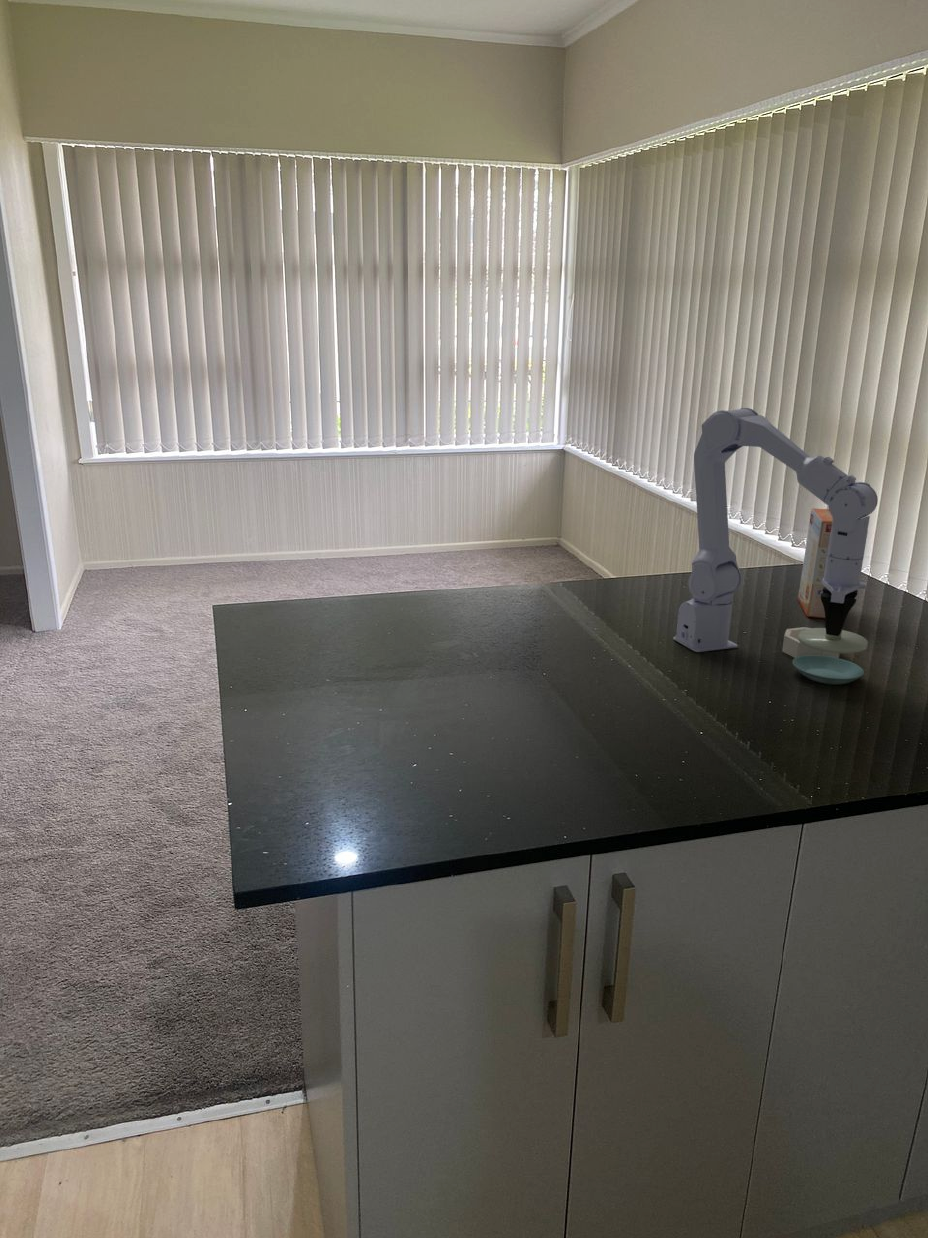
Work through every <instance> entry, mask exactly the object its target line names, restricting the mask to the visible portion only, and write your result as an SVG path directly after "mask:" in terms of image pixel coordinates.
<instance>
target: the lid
mask: <svg viewBox="0 0 928 1238" xmlns="http://www.w3.org/2000/svg"><path fill="white" fill-rule="evenodd" d="M809 628H810V629H805V630H803V631H801V632H800V633H799V637H798V640H799V641H800V642H801V643H802V644H804V645H805V646H808V647H810V648H813V649H816V650H821V651H825V652H832V653H840V654H856V653H857V654H858V653H861V652H864V651H866V649H868V643H869V642H868V639H866V638H865V637H864V636H862V635H860V634H859V633H855V632H852V631H849V630H844V629H842V631H841V633H840V635H839V636H834V635H827V634H826V627H813V628H812V627H809Z"/></svg>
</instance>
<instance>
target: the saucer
mask: <svg viewBox="0 0 928 1238" xmlns="http://www.w3.org/2000/svg"><path fill="white" fill-rule="evenodd" d="M792 664H793V666H794V668H795V669H796V670H797V671H798V672H799V673H800V674H801V675H803V676H804V677H806V678H807V679H809V680H811V681H813V682H816V683H819V684H820V683H821V684H823V683H824V685H831V686H835V685H836V686H837V685H840V686H841V685H845V684H849V683H852V682H854V681H856V680H858V679H859V678H861V677H863V676H864V674H865V671H864V669H863V667H861V666H859V665H858V664H856V663H854V662H852V661H849V660H846V659H842V658H840V657H839V658H835V657H829V656H822V655H805V656H799V657H797V658H793V659H792Z"/></svg>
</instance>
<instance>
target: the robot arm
mask: <svg viewBox="0 0 928 1238" xmlns="http://www.w3.org/2000/svg"><path fill="white" fill-rule="evenodd" d="M742 447H754V448H755V447H757V448H760V449H762V450H764V451H765V452H766V453H768V454H770V455H771V456H772V457H774V458H775V459H777V460H778V461H779V462H781V463H782V464H784V465H786V466H787V467H788V468H790V469H791V470H793V471H795V473H796V479H797V483H798V484H799V485H800V486H802V487H803V488H804V489H806V490H807V491H808V492H810V493H811V494H812V495H814V496H815V497H816V498H817V499H819V500H820V501H821V502H822V503H824V504H825V505H827V506H828V509H829V511H830V513H831V515H832V517H833V521H832V527H831V533H830V540H829V546H828V553H827V560H826V566H825V573H824V578H823V579H822V584H823V585H824V586H825V587H824V588H823V593H821V601H822V604H823V606H824V611H825V618H824V619H825V621H824V623H825V625H824V626H825V628H826V634H827V635H834V636H839V635H840V633H841V631H842V630H843V628H844V625H845V622H846V619H847V616H848V615H849V613H850V611H851V610H852V608H853V607H854V605H855V604H856V603H857V596H858V591H859V590H860V589H861V590H865V589H867V586H868V585H867V584H868V583H867V582H866V581H865V582H863V581H860V580H861V575H862V569H863V563H864V558H865V557H864V556H865V550H866V545H867V538H868V531H869V530H868V528H869V524H870V517H871V516H870V515H871V514H872V513H873V512H874V511H875V510H876V508H877V505H878V502H879V501H878V495H877V492H876V491H875V489H874V488H873V487H872V486H871V485H870V484H869V483H867V482H864V481H863V482H862V481H857V482H856V480H857V478H856V477H855V476H854V475H853V474H851V475H849V474H846V473H845V472H843V471H842V470H841V469H840V468H839V467H837V466H835V464H834V462H835V460H834V459H833V458H831V456H825V457H824V456H822V455H815V456H810V454H808V453H806V451H804V450H803V449H802V448H801V447H800V446H798V445H797V444H796V443H795V442H794V441H793V440H791V439H790V438H789V437H787V436H786V434H784V433H783V432H781V431H780V430H779V429H778V428H777V427H776V426H774V425H773V424H772V423H771V421H769V419H768V418H767V417H766V416H763V415H761V414H759V413H758V412H757V411H756V410H755V409H753V408H750V407H742V408H738V409H730V410H723V409H722V410H718V411H717V410H716V411H715V412H713V413H712V414H711V415H710V416H708V417H707V419H706V420H705V421H703V422H702V424H701V434H700V438H699V440H698V442H697V445H696V447H695V450H694V453H693V463H694V464H693V466H694V483H695V484H694V485H695V501H696V502H695V503H696V516H697V517H696V519H697V532H698V547H699V548H698V550H697V551H698V552H697V553H696V555H695V556H694V559H692V562H691V573H690V576H689V578H688V589H689V592H690V593H691V595H692V598H691V599H690V600H687V601H683V602H682V603H681V604H680V606H679V608H678V612H677V619H676V621H677V622H676V623H677V624H676V629H675V630H676V633H675V636H673V638H672V639H673V640H674V641H676V642H678V643H679V644H681V645H682V646H684V647H686V648H688V649H689V650H691V651H693V652H695V653H702V652H709V651H710V652H711V651H717V650H718V651H720V650H726V649H736V648H738V644H737V643H735V642H733V641H731V640H729V638H730V628H731V620H732V611H733V603H734V597H735V596H734V594H735V592H736V591H737V590H738V589H739V588H740V586H741V584H742V581H743V575H742V571H741V570H740V568H739V566H738V563H737V562H738V561H737V555H736V553H735V552H734V551H733V550H732V549H731V547H730V538H729V537H730V536H729V535H730V534H729V520H728V519H729V518H728V517H729V515H728V502H727V501H728V500H727V496H728V495H727V483H726V482H727V481H726V480H727V479H726V462H727V461H728V460H730V458H731V457H732V456H733V455H734V454H735V452H737V451H738V450H739V449H741V448H742Z"/></svg>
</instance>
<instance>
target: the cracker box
mask: <svg viewBox="0 0 928 1238" xmlns="http://www.w3.org/2000/svg"><path fill="white" fill-rule="evenodd" d="M809 517H810V518H809V523H808V524H809V525H808V530H807V531H808V532H807V536H806V537H807V538H806V543H805V550H804V551H805V552H804V556H803V562H802V563H803V565H802V569H801V576H800V583H799V589H798V595H797V600H798V601H799V603H800V605H801V608H802V610H803V611H804V613H805V616H806V617H808V618H818V619H825V611H824V606H823V604H822V601H821V593H823V588H824V587H825V586H824V585H823V584H822V579H823V578H824V573H825V566H826V560H827V553H828V546H829V540H830V533H831V527H832V521H833V517H832V515H831V513H830V511H829V508H811V510H810V515H809Z"/></svg>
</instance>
